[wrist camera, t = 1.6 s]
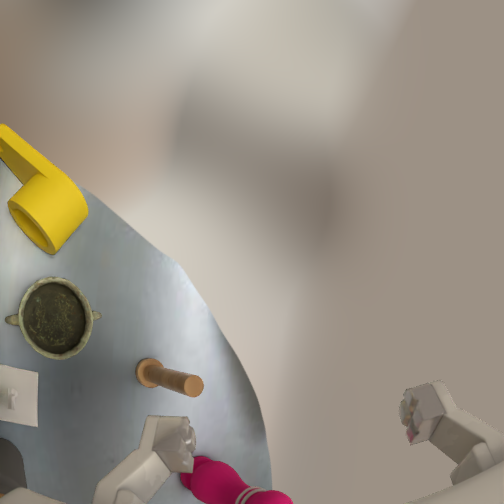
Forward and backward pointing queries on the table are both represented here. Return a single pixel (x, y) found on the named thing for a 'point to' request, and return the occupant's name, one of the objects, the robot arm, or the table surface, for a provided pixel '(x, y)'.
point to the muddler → (168, 378)
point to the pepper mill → (226, 485)
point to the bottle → (10, 468)
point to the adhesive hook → (18, 395)
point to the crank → (41, 194)
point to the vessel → (55, 318)
